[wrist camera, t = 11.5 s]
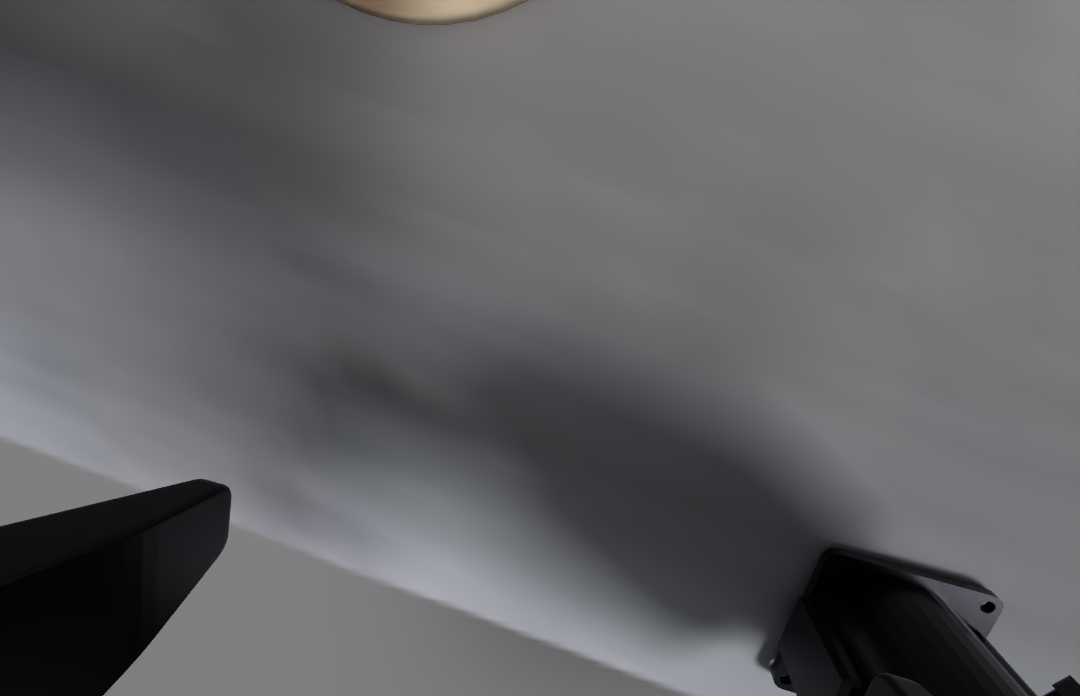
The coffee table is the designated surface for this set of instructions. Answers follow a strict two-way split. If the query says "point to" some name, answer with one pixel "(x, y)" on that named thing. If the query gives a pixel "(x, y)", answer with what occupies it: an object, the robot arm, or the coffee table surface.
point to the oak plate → (432, 10)
